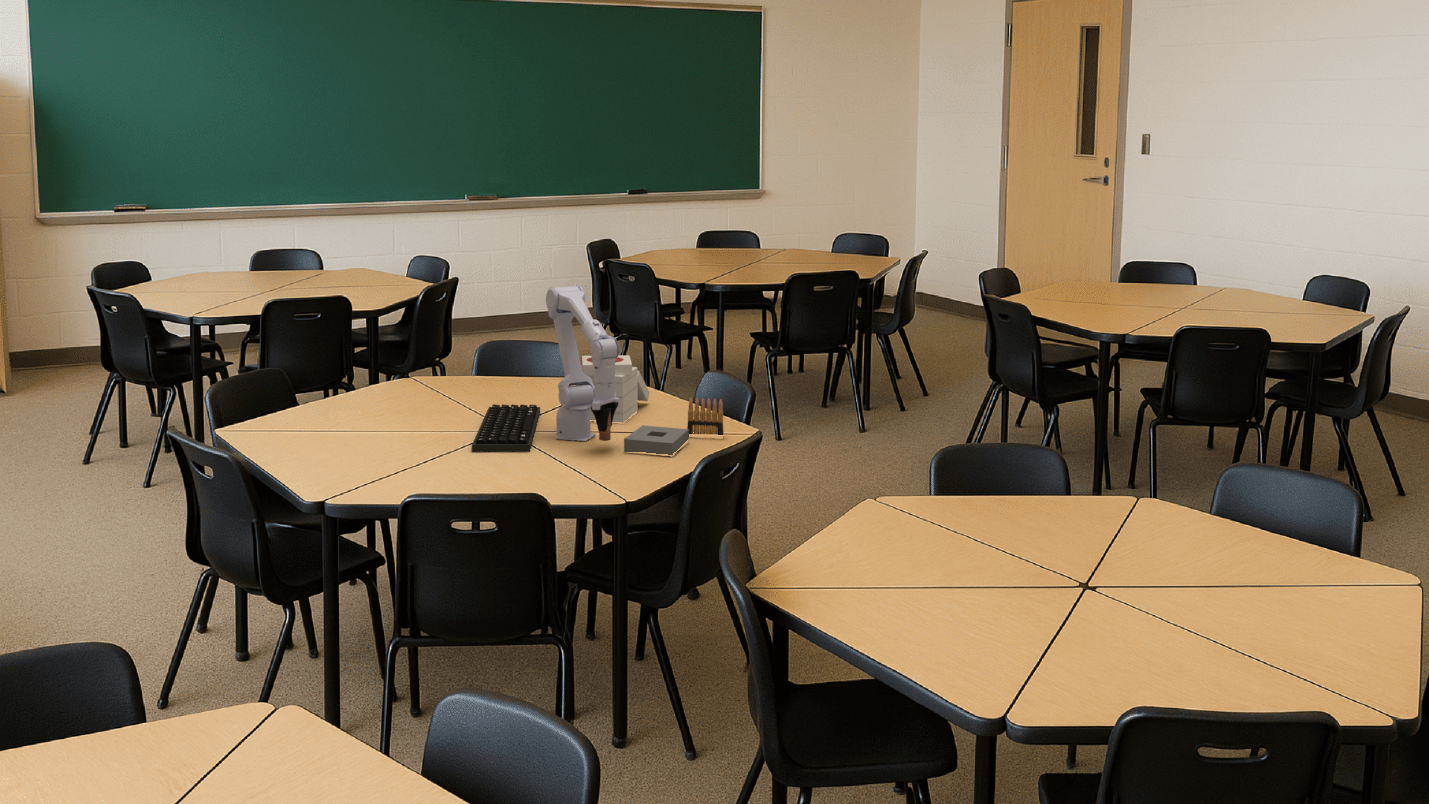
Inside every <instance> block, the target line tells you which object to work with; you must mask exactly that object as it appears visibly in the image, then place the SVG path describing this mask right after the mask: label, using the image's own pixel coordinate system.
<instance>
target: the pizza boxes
mask: <svg viewBox="0 0 1429 804" xmlns="http://www.w3.org/2000/svg"><path fill="white" fill-rule="evenodd" d="M581 361H582V364H581V367H582V372H583V373H584V374H585V375H587V376H589V377H590V378H591V379H592V383H593V385H594V366H593V363H592V356H591V355H582V357H581ZM638 369H639V368H638V367H637V366H633V364H632V360H631V356H630V355H625V354H624V355H620V354H619V355H618V357H617V358H615V392H617V398H619V401H614V402H618V407H617V408H616V411H615V413H614V417H613V422H622V423H623V422H624V421H625V420H627V419H628V418H629V417H630V416H631V415H632V414H634V413H635V412H636V411H638V409H639V408H638V404H639V403H638V401H639V402H649V397H650V390H649V389H648V387H647V383H646V382H645V380H644V378H643V376H642V374H641V372H640V370H638ZM590 420H596V419H595V416H594V414H593V412H592V411H591V408H590Z"/></svg>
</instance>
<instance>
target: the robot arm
mask: <svg viewBox="0 0 1429 804" xmlns="http://www.w3.org/2000/svg"><path fill="white" fill-rule="evenodd" d="M584 291H585V290H584V289H583V288H582V286H581V285H579V284H577V285H571V286H570V285H568V286H559V287H557V286H554V287H553V286H551V287H549V288H548V289H547V292H546V296H545V303H546V307H547V308H546V309H547V313H548V317H549V318H550V319H552V320H553V324H554V325H553V326H554V328H555V334H556V335H555V336H556V339H557V343H558V349H559V353H560V357H561V363H562V368H563V371H564V377H563V378H562V379H561V380H560V381H559V383H558V384H557V388H558V401H559V404H560V405H561V406H560V407H559V408H558V409H557V412H556V422H555V423H556V427H555V428H556V436H555V439H556V440H565V441H574V440H578V441H577V442H586V441H585V440H587V441H589V440H590V439H591V438H590V437H592V438H593V437H595V436H596V433H594V432H592V431H591V422H590V408H591V411H592V412H593V414H594V416H595V419H596V422H595V423H596V426H597V429H598V432H599V431H603V432H606V430H607V425H608V418H609V414H610V412H611V427H612V425H613V423H612V422H613V417H614V413H615V411H616V408H617V407H618V402H614V401H619V398H617V392H615V358H617V357H618V355H620V345H619V342H618V340H617V338H616V337H612V335H608V333H607V332H606V329H604V327H603V326H602V324H601V323H600V321H599V320H597V319H593V316H592V314H591V312H590V310H589V308H588V307H587V304H586V293H585V292H584ZM574 318H575V319H576V320H577V321H578V323H579V324H580V325H581V328H580V330H581V331H580V332H581V334H582V336H583V337H584V339H585V340H586V342H587V343H588V345H589V346H590V348H589V353H590V356H592V363H593V366H594V385H593V383H592V379H591V378H590V377H589V376H587V375H585V374H584V373H583V372H582V370H583V367H582V364H581V359H580V354H579V349H578V346H577V341H576V340H577V339H576V336H575V335H576V334H575V331H574V326H573V319H574ZM594 435H595V436H594ZM589 438H590V439H589ZM588 439H589V440H588ZM580 440H581V441H580Z"/></svg>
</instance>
